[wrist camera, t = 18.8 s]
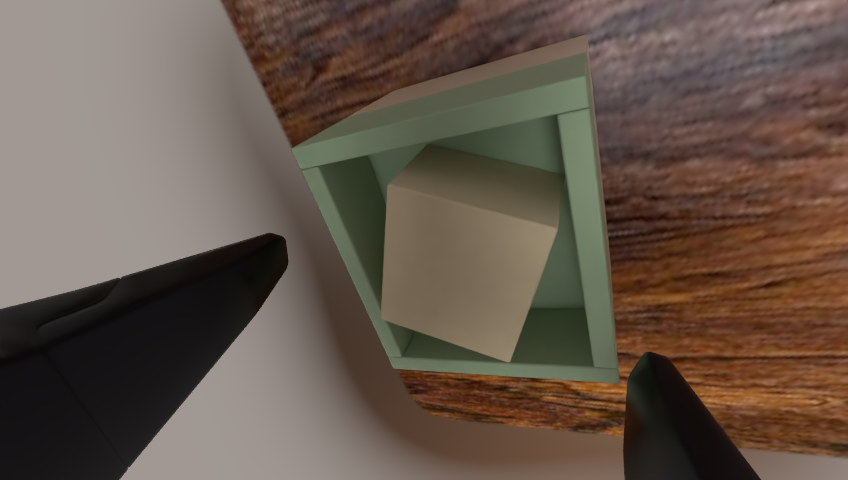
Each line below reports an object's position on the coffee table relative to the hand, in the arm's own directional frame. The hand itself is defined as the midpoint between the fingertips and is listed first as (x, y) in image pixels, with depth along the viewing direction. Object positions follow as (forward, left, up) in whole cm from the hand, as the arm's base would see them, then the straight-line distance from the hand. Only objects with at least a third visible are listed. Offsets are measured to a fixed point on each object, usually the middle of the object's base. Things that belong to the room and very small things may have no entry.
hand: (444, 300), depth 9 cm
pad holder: (0, 0, -8) cm, 8 cm away
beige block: (0, 0, -4) cm, 4 cm away
